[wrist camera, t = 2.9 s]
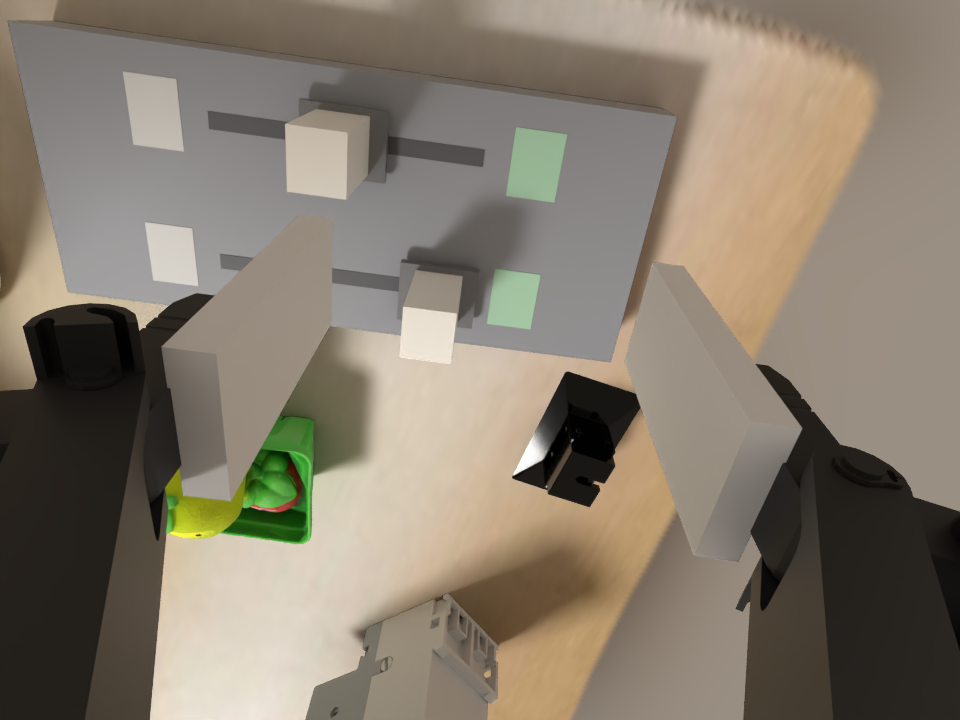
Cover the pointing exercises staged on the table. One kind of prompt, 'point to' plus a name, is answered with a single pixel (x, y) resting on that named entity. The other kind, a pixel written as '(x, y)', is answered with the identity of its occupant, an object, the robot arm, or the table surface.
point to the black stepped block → (577, 439)
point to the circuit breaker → (416, 670)
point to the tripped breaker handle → (335, 148)
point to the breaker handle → (434, 308)
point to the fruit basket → (257, 493)
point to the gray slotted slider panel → (356, 221)
